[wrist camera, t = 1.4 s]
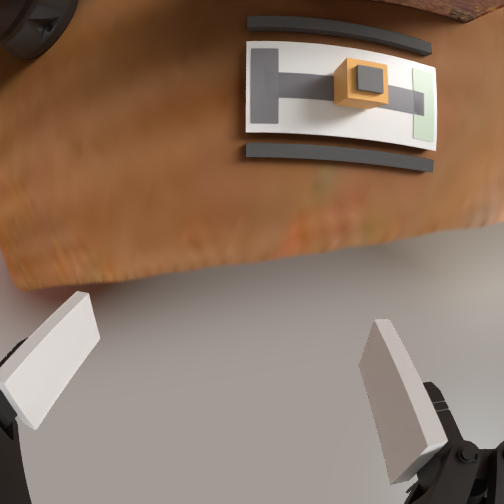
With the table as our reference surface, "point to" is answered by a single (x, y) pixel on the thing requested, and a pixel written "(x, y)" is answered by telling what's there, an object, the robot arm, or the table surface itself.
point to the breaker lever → (360, 84)
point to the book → (452, 7)
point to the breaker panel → (322, 95)
